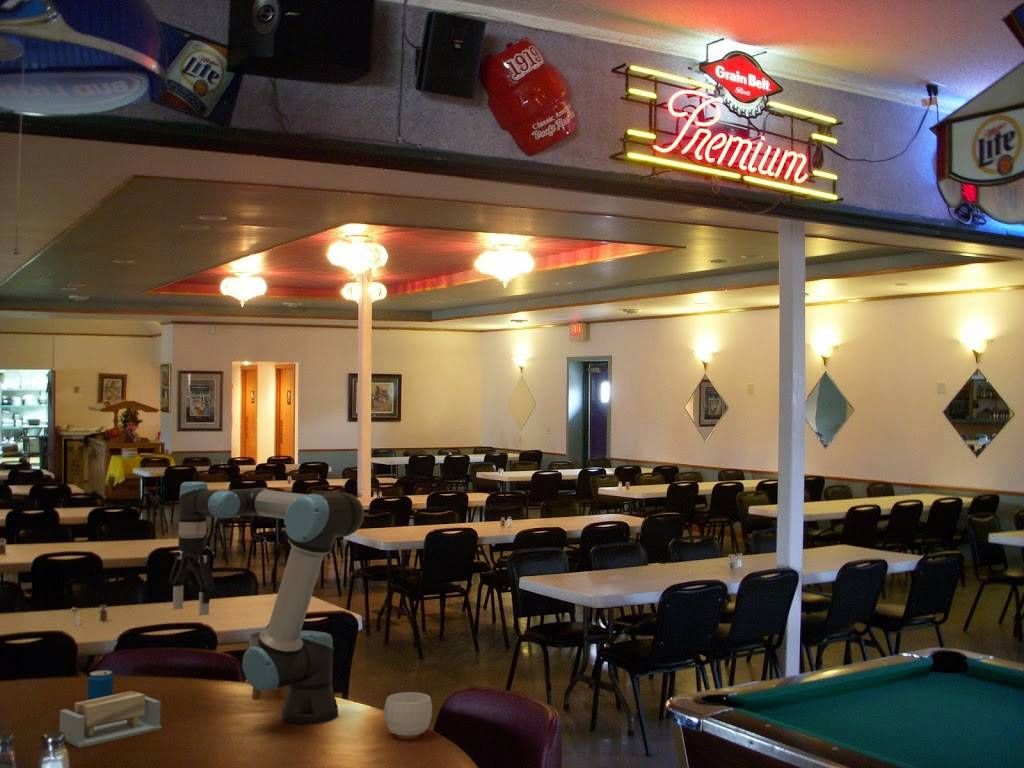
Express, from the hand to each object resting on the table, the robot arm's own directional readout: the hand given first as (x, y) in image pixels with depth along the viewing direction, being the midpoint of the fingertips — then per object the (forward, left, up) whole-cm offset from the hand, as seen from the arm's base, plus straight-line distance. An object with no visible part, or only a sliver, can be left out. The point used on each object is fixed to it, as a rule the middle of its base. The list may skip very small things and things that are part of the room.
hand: (190, 612), depth 292 cm
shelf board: (-8, +27, -23) cm, 36 cm away
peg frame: (-8, +27, -27) cm, 39 cm away
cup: (-64, -25, -27) cm, 74 cm away
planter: (-5, -24, -27) cm, 36 cm away
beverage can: (+8, +22, -27) cm, 36 cm away
